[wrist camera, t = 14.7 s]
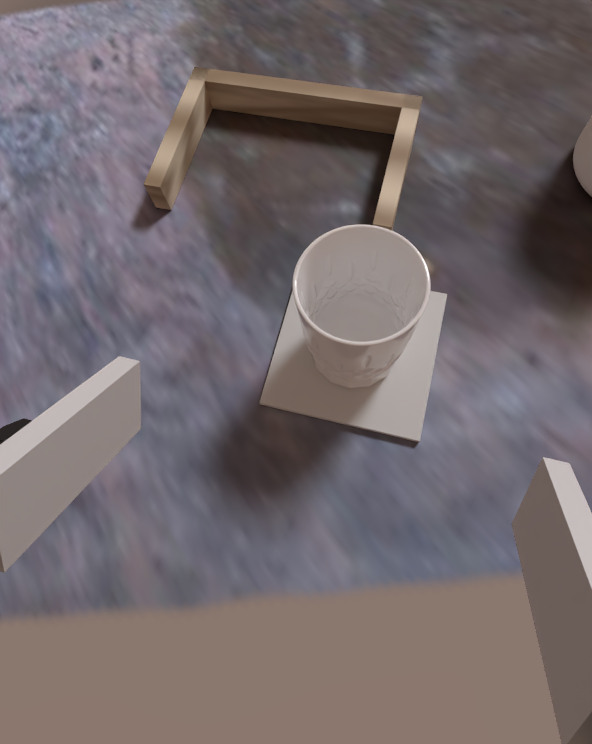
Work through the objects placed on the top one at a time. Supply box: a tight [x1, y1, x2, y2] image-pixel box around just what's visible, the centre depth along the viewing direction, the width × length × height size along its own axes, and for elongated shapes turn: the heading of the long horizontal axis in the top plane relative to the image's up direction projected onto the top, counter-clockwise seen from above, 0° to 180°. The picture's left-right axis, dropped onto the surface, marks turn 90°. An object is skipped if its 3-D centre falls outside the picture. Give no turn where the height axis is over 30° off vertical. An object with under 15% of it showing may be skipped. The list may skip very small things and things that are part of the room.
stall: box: [144, 67, 422, 231], centre depth 43 cm, size 14×21×3 cm, turn 75°
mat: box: [259, 291, 447, 442], centre depth 38 cm, size 12×12×1 cm
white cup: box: [293, 225, 430, 388], centre depth 33 cm, size 8×8×10 cm
